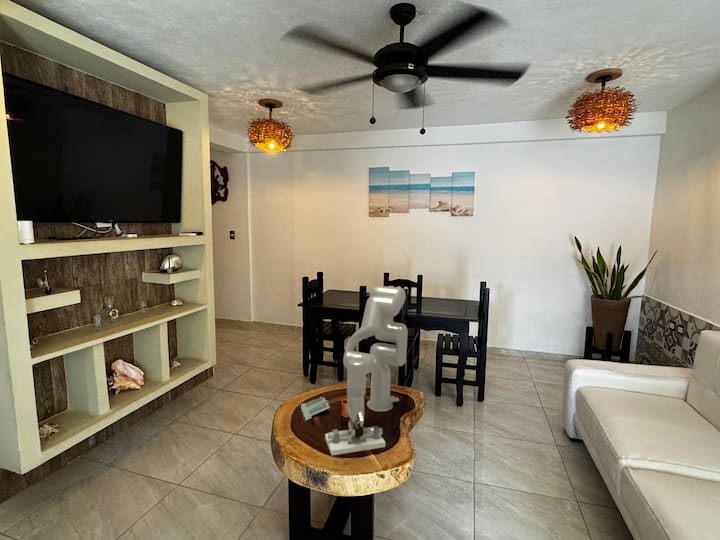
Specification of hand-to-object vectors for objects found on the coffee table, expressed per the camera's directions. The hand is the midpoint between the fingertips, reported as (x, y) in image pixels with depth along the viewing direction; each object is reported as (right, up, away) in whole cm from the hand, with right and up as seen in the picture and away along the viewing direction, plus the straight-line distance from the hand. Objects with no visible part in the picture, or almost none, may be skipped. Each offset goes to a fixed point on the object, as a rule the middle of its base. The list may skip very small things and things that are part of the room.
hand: (355, 429), depth 148 cm
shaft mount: (0, -5, 0) cm, 5 cm away
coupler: (0, -3, 0) cm, 3 cm away
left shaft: (+7, -3, +1) cm, 8 cm away
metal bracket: (-19, -3, +25) cm, 32 cm away
